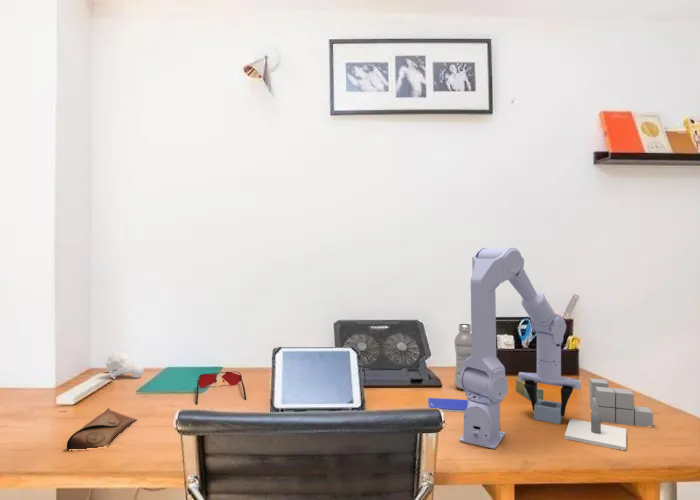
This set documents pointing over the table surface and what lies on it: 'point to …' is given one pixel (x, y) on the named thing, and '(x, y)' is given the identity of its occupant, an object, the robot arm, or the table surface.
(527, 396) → the medication box
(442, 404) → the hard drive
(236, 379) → the glasses
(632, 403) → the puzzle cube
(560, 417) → the grey square ring
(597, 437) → the post plate
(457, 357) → the plastic bottle
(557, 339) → the robot arm
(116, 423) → the sunglasses case
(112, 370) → the white lumpy piece
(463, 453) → the table surface
